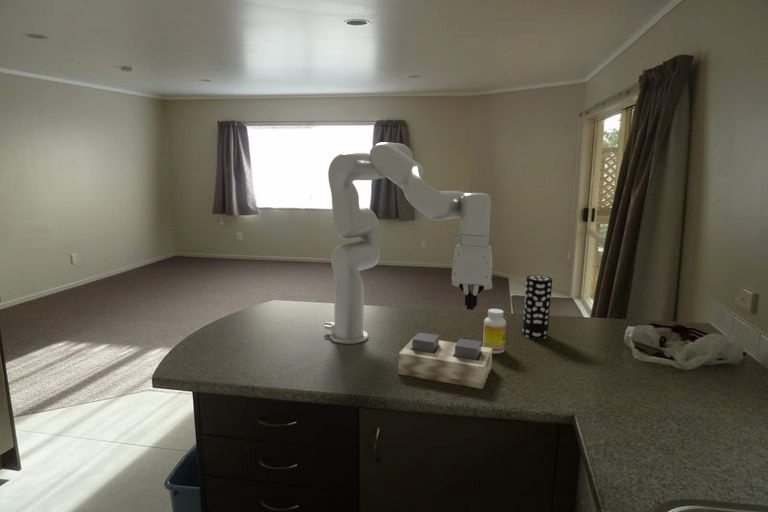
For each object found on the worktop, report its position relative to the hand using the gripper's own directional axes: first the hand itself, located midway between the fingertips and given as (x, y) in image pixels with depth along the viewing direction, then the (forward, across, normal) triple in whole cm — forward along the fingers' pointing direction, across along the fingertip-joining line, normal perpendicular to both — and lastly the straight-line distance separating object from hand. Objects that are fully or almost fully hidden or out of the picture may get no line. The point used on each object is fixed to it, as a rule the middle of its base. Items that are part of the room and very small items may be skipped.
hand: (470, 308), depth 128 cm
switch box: (+19, -6, 0) cm, 20 cm away
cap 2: (+14, 0, 0) cm, 14 cm away
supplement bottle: (+19, +4, +21) cm, 29 cm away
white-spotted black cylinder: (+19, +15, +41) cm, 48 cm away
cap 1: (+14, -12, 0) cm, 18 cm away
